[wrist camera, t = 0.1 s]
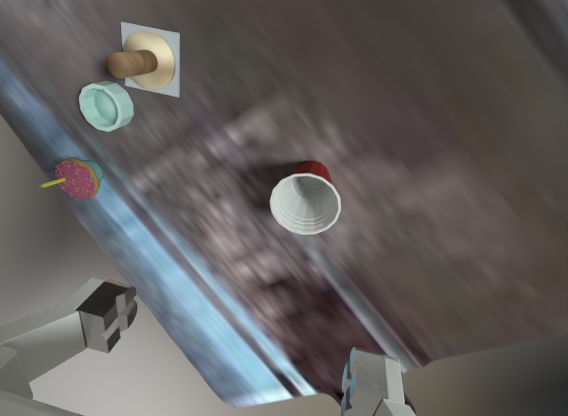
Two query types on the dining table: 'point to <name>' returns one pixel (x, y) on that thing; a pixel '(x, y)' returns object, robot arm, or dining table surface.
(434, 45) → the dining table surface
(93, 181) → the cupcake
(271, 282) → the dining table surface
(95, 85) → the bowl
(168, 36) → the mat
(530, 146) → the dining table surface
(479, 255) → the dining table surface
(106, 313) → the robot arm
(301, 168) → the plastic cup
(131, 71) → the lid
